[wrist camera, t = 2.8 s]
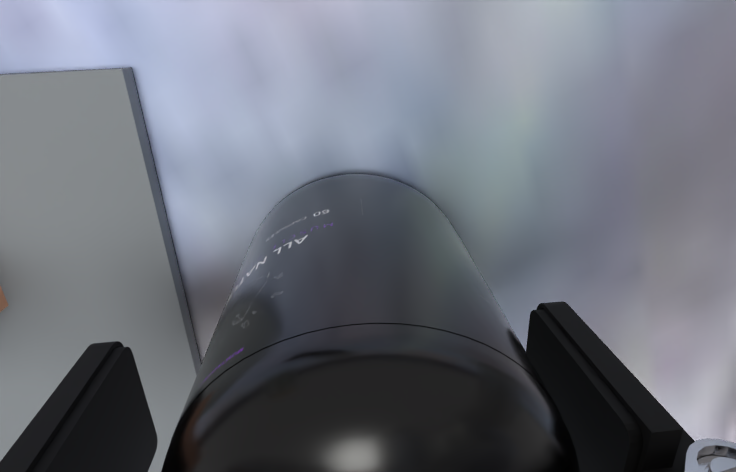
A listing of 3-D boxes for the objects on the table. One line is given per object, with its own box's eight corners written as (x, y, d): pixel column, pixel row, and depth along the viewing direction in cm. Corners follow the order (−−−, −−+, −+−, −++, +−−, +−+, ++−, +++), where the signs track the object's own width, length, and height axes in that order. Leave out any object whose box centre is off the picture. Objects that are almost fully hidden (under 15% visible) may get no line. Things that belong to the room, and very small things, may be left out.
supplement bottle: (254, 152, 13) (-114, 707, 2) (481, 184, 14) (986, 697, 3) (241, 347, 16) (38, 1038, 5) (432, 364, 17) (620, 983, 6)
